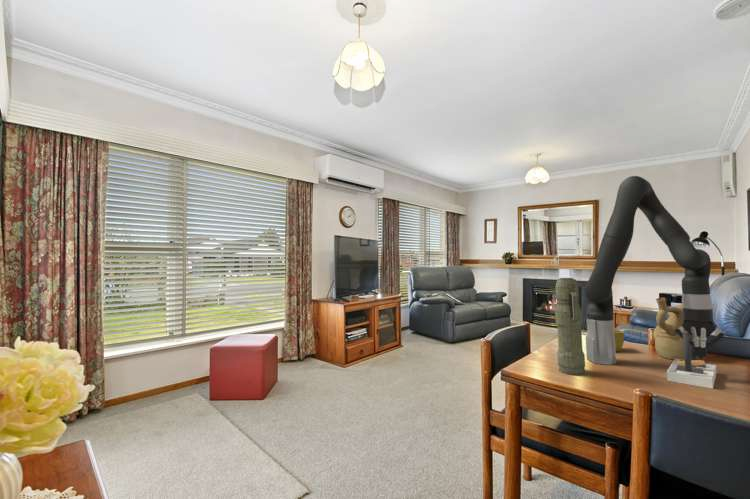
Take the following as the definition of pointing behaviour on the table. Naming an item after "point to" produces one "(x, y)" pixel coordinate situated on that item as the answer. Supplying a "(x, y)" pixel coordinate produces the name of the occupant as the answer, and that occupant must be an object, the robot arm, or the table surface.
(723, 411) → the table surface
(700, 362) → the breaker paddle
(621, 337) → the flower pot
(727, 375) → the table surface
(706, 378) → the breaker board
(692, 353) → the dark grey rod
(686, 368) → the dark grey peg
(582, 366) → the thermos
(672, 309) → the ceramic vessel
